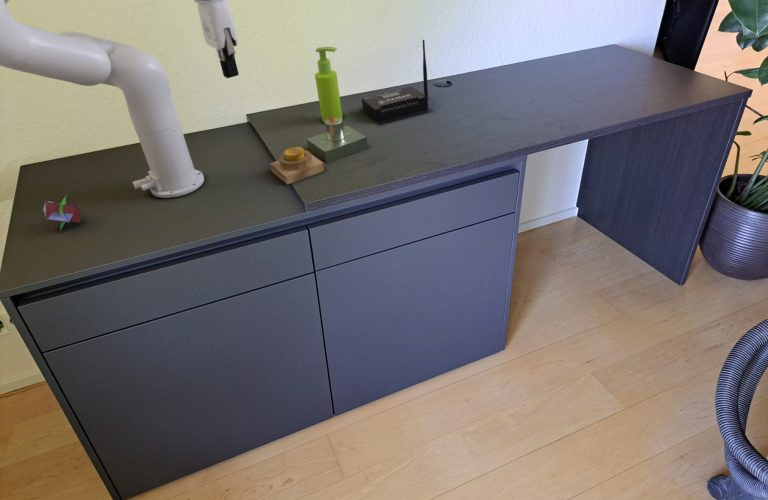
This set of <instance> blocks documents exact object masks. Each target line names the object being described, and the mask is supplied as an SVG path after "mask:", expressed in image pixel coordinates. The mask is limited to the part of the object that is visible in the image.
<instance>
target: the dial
mask: <svg viewBox="0 0 768 500" xmlns="http://www.w3.org/2000/svg"><path fill="white" fill-rule="evenodd" d="M343 120H344V119H343V118H342V119H341V118H331V117H330V118H329V119H328V120H326V121H325V122H324V125H325V129H326V130H325V133H326V132H327V138H328V140H329V141H340V140H342V139H344V138H345V134H344V122H343Z"/></svg>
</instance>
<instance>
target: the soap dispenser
mask: <svg viewBox="0 0 768 500" xmlns="http://www.w3.org/2000/svg"><path fill="white" fill-rule="evenodd" d="M336 50H338V48H337V47H335V46H334V47H333V46H322V47H317V48H316V49H315V53H318V54H319V60H317V68H318V72H316V73H315V74H314V80H315V84H316V85H315V86H316V91H317V96H318V97H317V98H318V101H319V102H318V103H319V110H320V115H321V121H322V122H323V123H325V121H326V120H328V119H329V118H330V117H331V118H341V119H342V120H343V111H342V105H341V97H340V88H339V83H338V75H337V72H336V71H335V70H332V66H331V60H330V59H329V58H327V54H326V53H327V52H332V53H335V52H336Z"/></svg>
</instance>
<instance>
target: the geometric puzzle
mask: <svg viewBox="0 0 768 500" xmlns="http://www.w3.org/2000/svg"><path fill="white" fill-rule="evenodd" d="M57 198H60V196H59V197H57ZM66 198H68V199H69V200H70V201H71V202H72V203H74V205H71V204H67V199H66ZM42 211H43V213H44V216H45V219H46V220H48V221H55V222H59V227H60V228H58V230H59V232H61V231H62V230H66V229H67V228H66V226H67V225H68V224H70V223H71V224H74V225H72V227H75V224H81V206H79V205H77V204H76V203H75V201H73V200H72V199H71V198H70V197H69V196H68V195H67V194H64V195H63V196H62V198H61V199H60V200H59V201H58V202H54V201H52V200H47V201H44V206H43V208H42ZM51 224H52V225H53V226H55V224H54V223H53V222H51Z"/></svg>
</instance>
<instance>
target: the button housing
mask: <svg viewBox="0 0 768 500" xmlns="http://www.w3.org/2000/svg"><path fill="white" fill-rule="evenodd" d="M304 155H305V157H304V158H303V159H301V160H298V161H286V159H285V154H284V152H283V153H282V154H281V155H279V157H278V160H275V161H272V162H270V163H269V166H270V171H271V172H272V173H273V174H274V175H275V176H276V177H277V178H279V179H280V180H281V181H282V182H283V183H285V184H286V185H290V184H292V183H296V182H299V181H301V180H303V179H306V178H309V177H312V176H314V175H318V174H320V173H323V172H325V163H324V162H323V161H322V160H320V159H319V158H317V157H316V155H313V153H312V152H311V151H310V150H308V149H304Z"/></svg>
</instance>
